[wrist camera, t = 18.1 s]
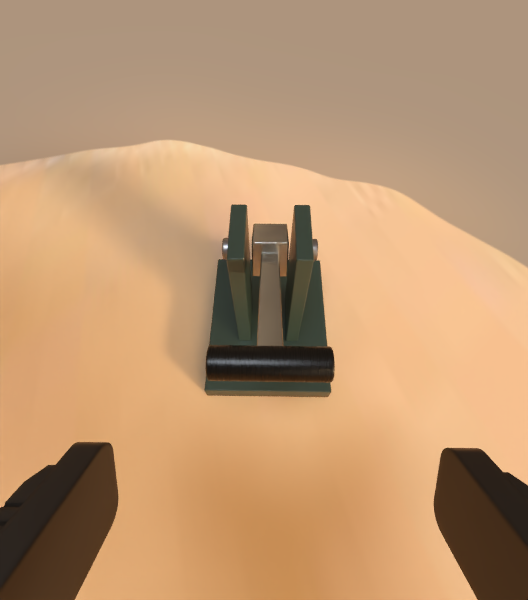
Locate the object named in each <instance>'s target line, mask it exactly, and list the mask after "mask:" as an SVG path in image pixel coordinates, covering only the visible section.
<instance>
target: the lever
mask: <svg viewBox="0 0 528 600" xmlns="http://www.w3.org/2000/svg"><path fill="white" fill-rule="evenodd" d="M288 248H289V241H288V231H287V224H254V225H253V236H252V275H253V276H260V287H259V309H258V331H257V346H251V345H210V346H209V347H208V350H207V356H206V376H207V379H208V380H209V381H257V382H325V383H330V382H332V381H333V378H334V354H333V350H332V348H331V347H324V346H283V328H282V306H281V284H280V277H286V276H287V267H288Z"/></svg>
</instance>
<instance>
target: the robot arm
mask: <svg viewBox="0 0 528 600" xmlns="http://www.w3.org/2000/svg"><path fill="white" fill-rule="evenodd" d="M117 506H118V488H117V479H116V471H115V462H114V454H113V448H112V445H111V444H110V443H104V442H77V443H75V444H73V445H72V446H71V447H70V449H69V450H68V451H67V452H66V453H65V454H64V456H63V457H62V458H61V459H60V460H59V461H58V463H57V464H56V465H48V466H46V467H45V468H44V469H42V470H41V471H39V472H38V473H36V474H35V475H33V476H32V477H31V478H29V479H28V480H26V481H25V482H24V483H23V484H22V485H21V486H20V487H19V488H18V489H17V490H16V491H15V492H14V494H13V495H12V496H11V497H10V498H9V499H8V500H7V501H6V502H5V506H4V507H1V508H0V600H75V598H76V596H77V594H78V592H79V590H80V588H81V586H82V584H83V582H84V580H85V578H86V576H87V574H88V572H89V570H90V568H91V566H92V564H93V562H94V560H95V558H96V556H97V554H98V552H99V550H100V548H101V546H102V544H103V542H104V540H105V538H106V536H107V534H108V532H109V530H110V528H111V526H112V524H113V521H114V519H115V515H116V512H117ZM434 512H435V517H436V521H437V524H438V527H439V529H440V531H441V533H442V535H443V537H444V539H445V541H446V542H447V544H448V546H449V548H450V550H451V552H452V553H453V555H454V557H455V559H456V561H457V563H458V564H459V566H460V568H461V570H462V572H463V574H464V575H465V577H466V579H467V581H468V583H469V585H470V586H471V588H472V590H473V592H474V594H475V596H476V597H477V599H478V600H528V485H526V484H525V483H523V482H522V481H520V480H519V479H517V478H516V477H514V476H513V475H511V474H510V473H509V472H502V471H501V470H500V468H499V467H498V466H497V465H496V464H495V463H494V462H493V461H492V460H491V459H490V457H489V456H488V455H487V454H486V453H485V452H484V451H482V450H481V449H478V448H445V449H444V450H443V451H442V453H441V458H440V464H439V471H438V477H437V484H436V490H435V496H434Z"/></svg>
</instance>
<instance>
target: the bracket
mask: <svg viewBox="0 0 528 600" xmlns="http://www.w3.org/2000/svg"><path fill="white" fill-rule="evenodd" d="M222 254H223V259H219V260H218V268H217V277H216V287H215V296H214V306H213V315H212V325H211V334H210V344H209V346H210V345H251V346H257V331H258V309H259V287H260V276H253V275H252V260H250V250H249V233H248V216H247V205H231V214H230V225H229V236H228V238H224V239H223V243H222ZM317 255H318V242H317V239H312V227H311V214H310V206H309V205H295V206H294V213H293V223H292V233H291V243H290V253H289V260H288V267H287V276H286V277H280V284H281V306H282V328H283V346H324V347H327V339H326V327H325V315H324V304H323V292H322V280H321V269H320V261H316V260H317ZM205 391H206V393H207V395H223V396H289V397H328V396H329V394H330V393H331V385H330V383H325V382H257V381H209V380H208V379H207V376H206V382H205Z"/></svg>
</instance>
